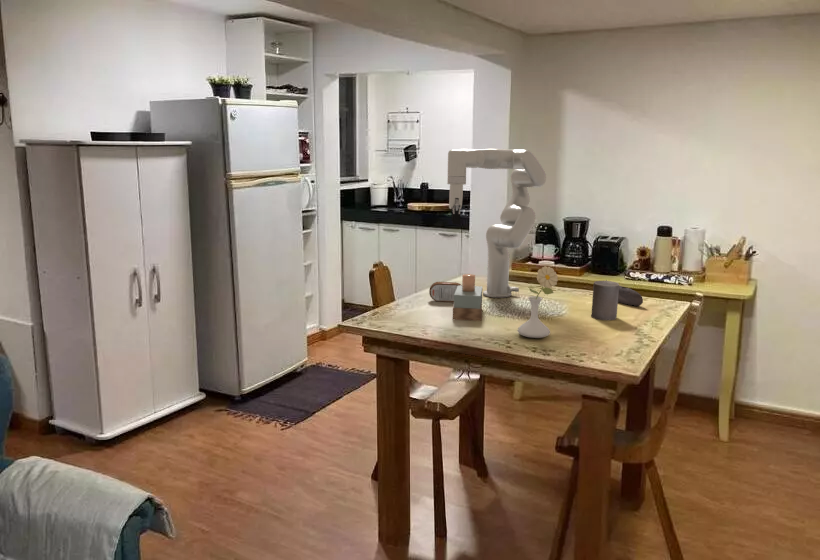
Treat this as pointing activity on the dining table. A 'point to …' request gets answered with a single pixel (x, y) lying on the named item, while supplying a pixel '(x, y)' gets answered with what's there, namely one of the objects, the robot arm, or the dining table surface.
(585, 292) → the dining table surface
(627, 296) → the perforated stone tool
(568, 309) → the dining table surface
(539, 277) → the flower in vase
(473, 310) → the tower base
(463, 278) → the column
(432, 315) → the dining table surface
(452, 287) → the tin
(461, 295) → the tower top
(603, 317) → the pillar candle
